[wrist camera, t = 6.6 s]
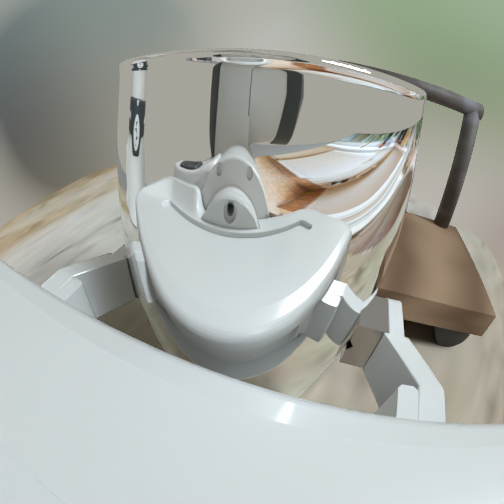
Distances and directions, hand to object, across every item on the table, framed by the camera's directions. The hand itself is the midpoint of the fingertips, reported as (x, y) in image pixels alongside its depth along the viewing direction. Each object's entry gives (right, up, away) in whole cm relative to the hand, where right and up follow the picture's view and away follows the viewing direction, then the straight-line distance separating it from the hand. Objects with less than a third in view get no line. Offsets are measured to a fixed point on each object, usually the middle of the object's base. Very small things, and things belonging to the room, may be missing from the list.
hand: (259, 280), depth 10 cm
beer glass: (-1, -7, +4) cm, 8 cm away
